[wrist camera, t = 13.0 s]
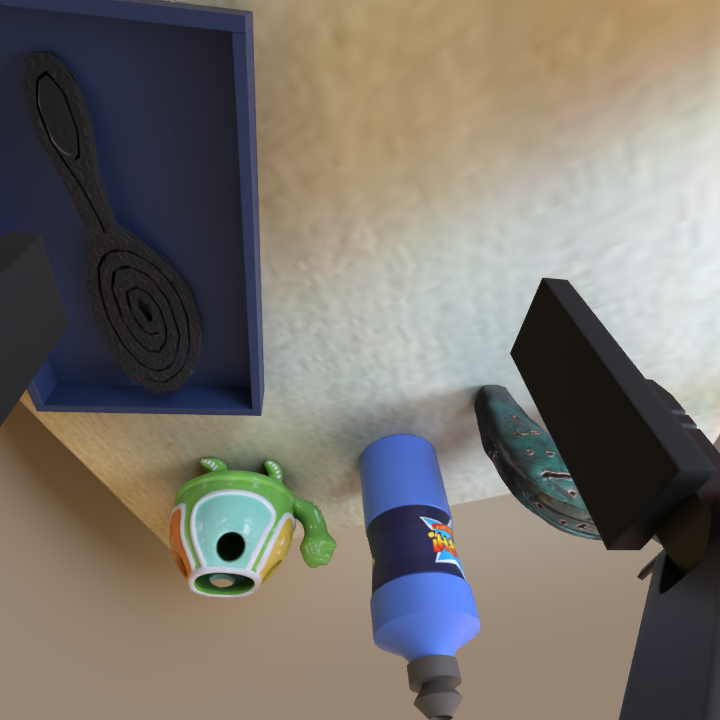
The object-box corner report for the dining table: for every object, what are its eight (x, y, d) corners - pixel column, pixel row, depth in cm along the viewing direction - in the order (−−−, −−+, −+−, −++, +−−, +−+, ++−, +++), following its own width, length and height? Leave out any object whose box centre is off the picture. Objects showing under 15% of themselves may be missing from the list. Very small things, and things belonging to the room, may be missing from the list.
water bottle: (410, 421, 52) (467, 688, 32) (451, 463, 57) (520, 715, 38) (342, 457, 55) (356, 721, 35) (386, 493, 60) (420, 742, 40)
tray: (-115, -33, 26) (-167, -34, 23) (252, 11, 28) (245, 15, 25) (53, 384, 45) (36, 411, 42) (264, 390, 47) (261, 416, 45)
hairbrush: (96, 48, 26) (210, 394, 41) (119, 44, 29) (217, 368, 44) (-57, 60, 26) (113, 403, 41) (-18, 55, 29) (127, 376, 44)
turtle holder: (323, 521, 63) (324, 615, 53) (179, 511, 59) (154, 611, 50) (343, 461, 55) (348, 559, 46) (180, 446, 52) (151, 549, 42)
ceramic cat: (653, 387, 51) (800, 567, 36) (622, 428, 55) (742, 606, 40) (480, 372, 48) (559, 562, 32) (460, 416, 52) (522, 605, 36)
